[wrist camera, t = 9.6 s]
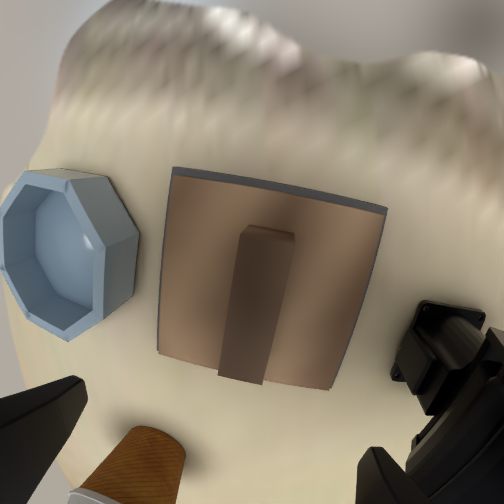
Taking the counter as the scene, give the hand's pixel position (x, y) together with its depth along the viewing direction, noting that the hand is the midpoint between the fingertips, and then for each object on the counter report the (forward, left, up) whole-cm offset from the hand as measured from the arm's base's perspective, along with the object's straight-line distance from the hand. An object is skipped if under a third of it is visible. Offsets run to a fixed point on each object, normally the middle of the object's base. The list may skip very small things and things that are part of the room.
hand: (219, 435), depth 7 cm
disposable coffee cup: (+7, +20, -12) cm, 24 cm away
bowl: (+14, 0, -12) cm, 19 cm away
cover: (0, 0, -11) cm, 11 cm away
